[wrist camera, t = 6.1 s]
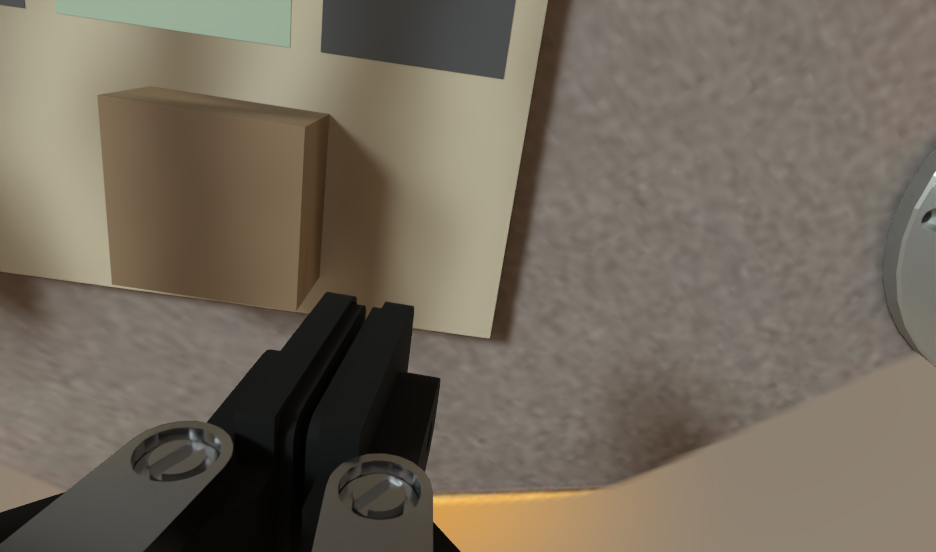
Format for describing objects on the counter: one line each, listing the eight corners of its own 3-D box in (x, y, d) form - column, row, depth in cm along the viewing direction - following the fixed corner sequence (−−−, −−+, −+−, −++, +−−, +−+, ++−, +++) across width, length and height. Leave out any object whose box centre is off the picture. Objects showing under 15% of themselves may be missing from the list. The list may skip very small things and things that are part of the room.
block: (329, 114, 21) (305, 127, 18) (319, 277, 23) (296, 311, 20) (150, 86, 20) (97, 94, 18) (157, 253, 23) (112, 284, 20)
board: (576, -181, 18) (599, -236, 14) (489, 326, 24) (490, 380, 21) (-179, -302, 18) (-357, -391, 14) (-67, 250, 24) (-168, 291, 20)
